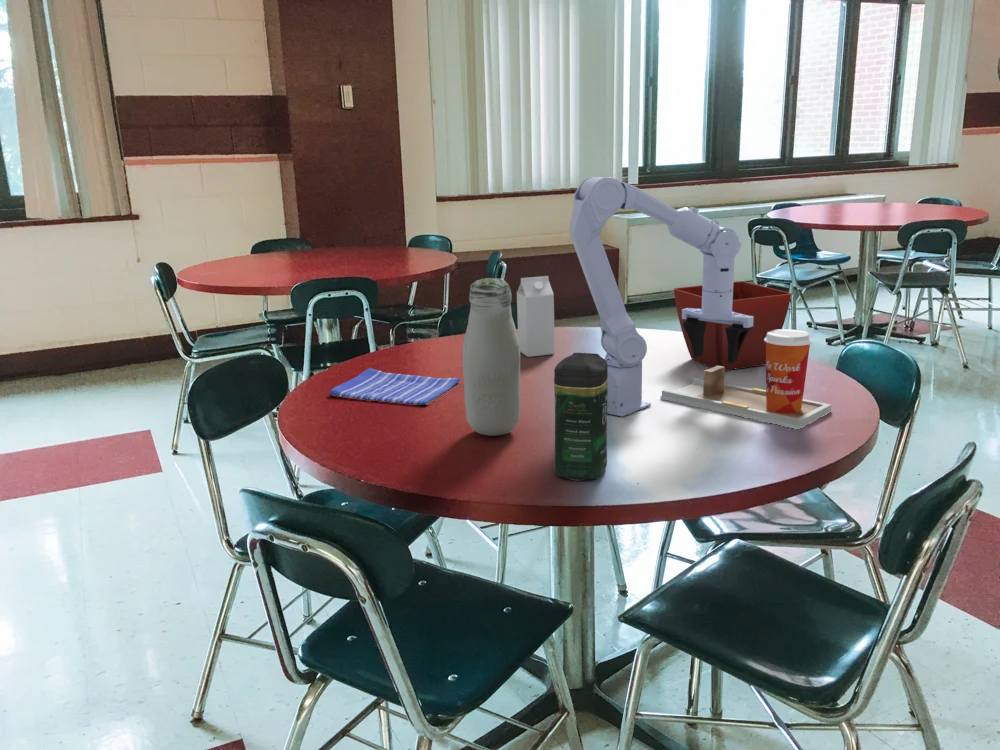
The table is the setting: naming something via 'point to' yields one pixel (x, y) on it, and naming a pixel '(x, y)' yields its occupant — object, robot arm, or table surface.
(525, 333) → the milk carton
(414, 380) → the dish towel
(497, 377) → the glass bottle
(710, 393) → the wooden l-shaped board
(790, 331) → the coffee cup
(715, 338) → the plant pot
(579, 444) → the coffee jar
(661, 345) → the table surface
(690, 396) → the board
